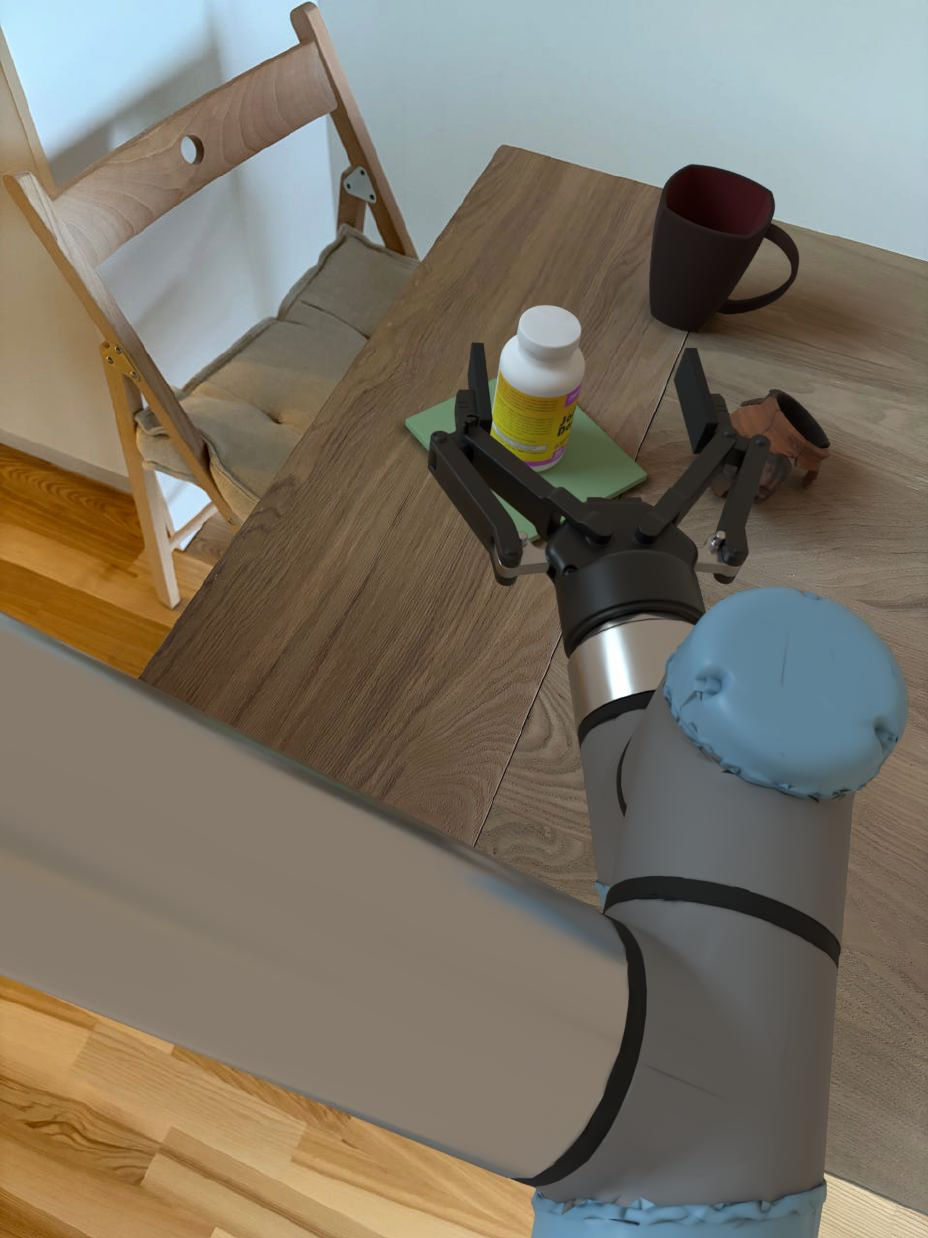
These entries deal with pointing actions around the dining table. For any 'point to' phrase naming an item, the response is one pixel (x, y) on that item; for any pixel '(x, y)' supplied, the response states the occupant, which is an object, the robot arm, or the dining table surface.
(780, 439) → the pottery mug
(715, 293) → the mug
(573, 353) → the supplement bottle
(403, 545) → the dining table surface
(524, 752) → the dining table surface
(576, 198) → the dining table surface
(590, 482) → the green mat
